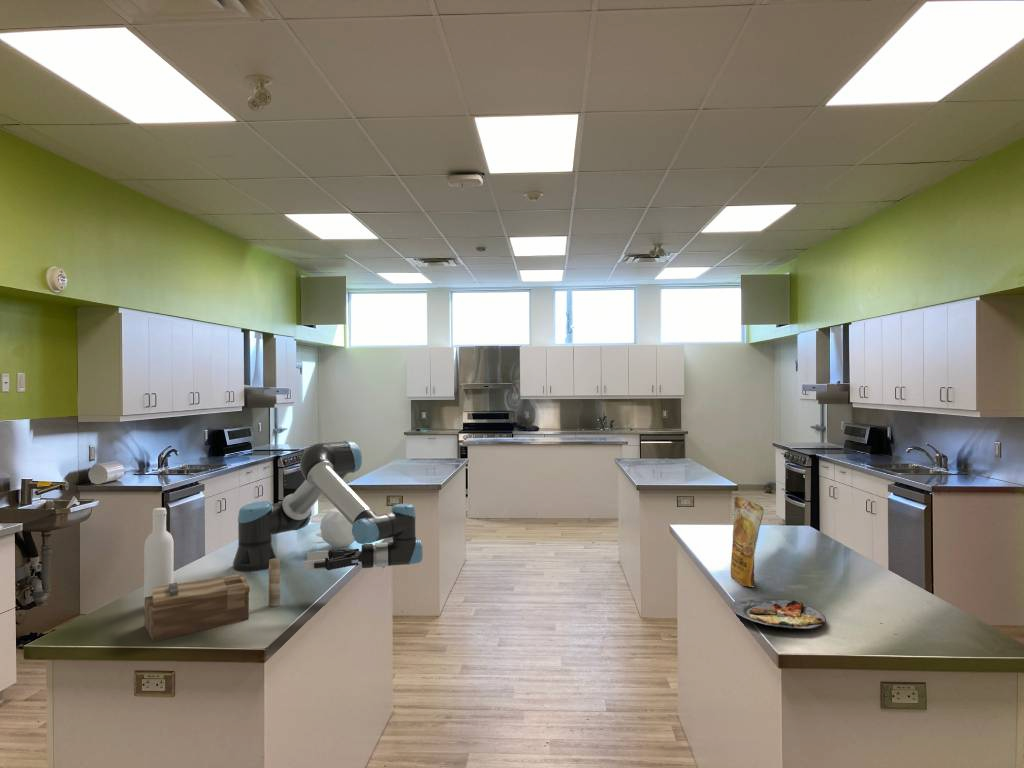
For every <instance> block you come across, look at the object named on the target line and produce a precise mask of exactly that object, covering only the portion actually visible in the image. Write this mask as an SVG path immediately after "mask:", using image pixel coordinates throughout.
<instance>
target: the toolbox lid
mask: <svg viewBox="0 0 1024 768" xmlns="http://www.w3.org/2000/svg"><path fill="white" fill-rule="evenodd" d="M250 589H251V588H250V585H249V582H248V580H247V579H246V577H245V575H244V574H243V573H241V574H240V573H239V574H233V575H226V576H220V577H214V578H207V579H200V580H194V581H193V580H192V581H187V582H181V583H178V582H173V583H171V584H169V585H166V586H159V587H153V608H155V607H161V606H167V605H173V604H179V603H185V602H191V601H197V600H203V599H209V598H215V597H221V596H227V595H233V594H239V593H245V592H249V593H250Z"/></svg>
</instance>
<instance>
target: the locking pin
mask: <svg viewBox="0 0 1024 768" xmlns="http://www.w3.org/2000/svg"><path fill="white" fill-rule="evenodd" d="M280 596H281V558H279V557H278V558H277V557H276V558H274V559H270V560H269V568H268V607H270V608H274V607H275V608H276V607H279V606H280V605H281V597H280Z"/></svg>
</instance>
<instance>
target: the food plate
mask: <svg viewBox="0 0 1024 768" xmlns="http://www.w3.org/2000/svg"><path fill="white" fill-rule="evenodd" d="M761 604H764V606H766V605H767V604H772V608H773V610H774V611H773V610H768V609H758V608H752V607H755V606H762V605H761ZM781 606H784V607H781ZM731 607H732V610H733V611H734V613H735V614H736V615H739V616H741V617H742V618H744V619H747V620H749V621H751V622H752V623H759V624H762V625H765V626H773V627H776V628H779V627H780V628H786V629H788V628H789V629H790V630H792V629H801V630H804V629H808V630H814V629H818V628H819V627H820V628H821V627H823V626H825V624H826V623H827V618H826V616H825V614H823V613H822V612H821V611H819V610H818V609H815V608H813V607H811V606H809V605H806V604H804V602H801V601H800V602H798V601H796V600H792V601H790V600H787V599H786V600H785V599H780V598H779V599H778V598H773V597H772V598H770V597H755V596H753V597H752V596H751V597H743V598H741V599H737V600H734V601H733V602H732V603H731ZM750 608H752V609H751V610H749V613H747V611H748V609H750ZM777 613H780V614H782V615H783V616H788V617H777V616H757V615H777ZM802 613H804V614H807V615H803V616H802V617H801V614H802ZM748 614H749V615H748ZM789 616H791V617H789ZM796 626H797V627H796Z"/></svg>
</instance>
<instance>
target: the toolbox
mask: <svg viewBox="0 0 1024 768" xmlns="http://www.w3.org/2000/svg"><path fill="white" fill-rule="evenodd" d="M249 599H250V592H245V593H239V594H233V595H227V596H221V597H215V598H209V599H203V600H197V601H191V602H185V603H179V604H173V605H167V606H161V607H155V608H153V596H149V597H145V609H144V618H143V619H144V622H143V623H144V628H145V629H146V631H147V633H148V635H149V637H150V639H151V640H152V642H158V641H159V642H160V641H162V640H166V639H171V638H175V637H180V636H183V635H187V634H191V633H196V632H201V631H204V630H208V629H212V628H217V627H221V626H225V625H230V624H234V623H239V622H242V621H246V620H249V618H250V617H249V616H250V614H249V613H250V608H249V606H250V601H249Z"/></svg>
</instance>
